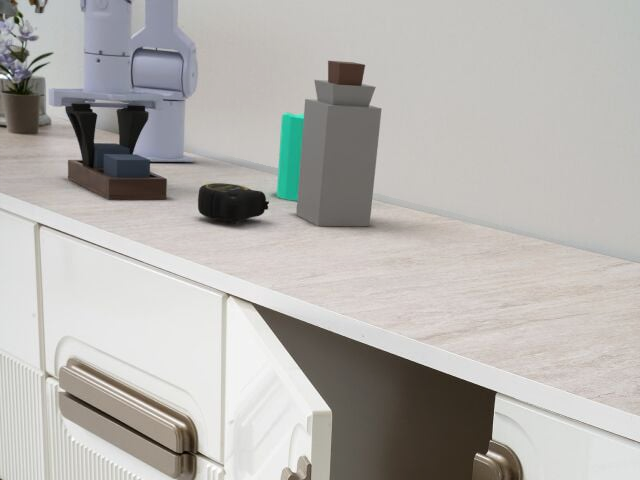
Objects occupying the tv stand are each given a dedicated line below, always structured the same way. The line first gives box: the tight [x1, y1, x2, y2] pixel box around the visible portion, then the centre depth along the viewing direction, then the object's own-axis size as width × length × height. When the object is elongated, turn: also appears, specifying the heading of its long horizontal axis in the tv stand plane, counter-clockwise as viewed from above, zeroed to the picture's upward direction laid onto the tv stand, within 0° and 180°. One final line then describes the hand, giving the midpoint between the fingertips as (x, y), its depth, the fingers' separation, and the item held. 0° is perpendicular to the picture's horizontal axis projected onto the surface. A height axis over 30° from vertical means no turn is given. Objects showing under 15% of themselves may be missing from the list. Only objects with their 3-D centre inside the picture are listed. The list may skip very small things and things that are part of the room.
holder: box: [67, 159, 168, 201], centre depth 143 cm, size 14×8×2 cm, turn 31°
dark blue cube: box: [104, 154, 151, 178], centre depth 140 cm, size 4×4×4 cm
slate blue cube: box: [91, 142, 130, 168], centre depth 145 cm, size 4×4×4 cm
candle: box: [276, 112, 304, 202], centre depth 147 cm, size 6×6×12 cm
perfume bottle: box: [295, 60, 382, 227], centre depth 133 cm, size 7×7×18 cm
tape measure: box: [197, 182, 270, 224], centre depth 130 cm, size 7×7×4 cm
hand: (106, 166), depth 145 cm, fingers closed on slate blue cube, 4 cm apart
